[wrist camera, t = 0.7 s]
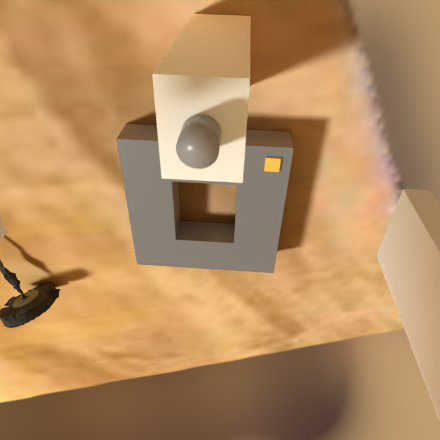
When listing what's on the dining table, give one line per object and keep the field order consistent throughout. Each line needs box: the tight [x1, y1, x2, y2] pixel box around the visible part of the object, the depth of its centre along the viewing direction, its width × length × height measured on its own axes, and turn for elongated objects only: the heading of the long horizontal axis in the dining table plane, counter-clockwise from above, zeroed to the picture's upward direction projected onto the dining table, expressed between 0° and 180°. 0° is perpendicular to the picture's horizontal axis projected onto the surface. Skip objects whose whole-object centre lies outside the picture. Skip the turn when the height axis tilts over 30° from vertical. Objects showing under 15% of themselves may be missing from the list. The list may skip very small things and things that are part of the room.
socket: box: [117, 123, 294, 273], centre depth 34 cm, size 14×14×3 cm
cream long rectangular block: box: [152, 14, 251, 183], centre depth 21 cm, size 4×5×16 cm
